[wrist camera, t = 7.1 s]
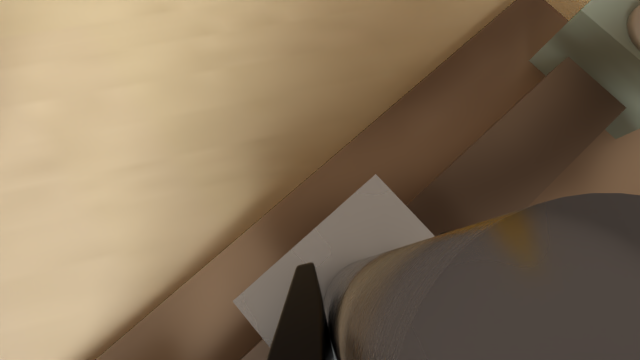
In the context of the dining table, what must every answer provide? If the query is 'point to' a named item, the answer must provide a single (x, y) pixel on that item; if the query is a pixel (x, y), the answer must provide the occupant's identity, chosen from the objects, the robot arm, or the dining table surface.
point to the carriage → (469, 281)
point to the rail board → (444, 159)
